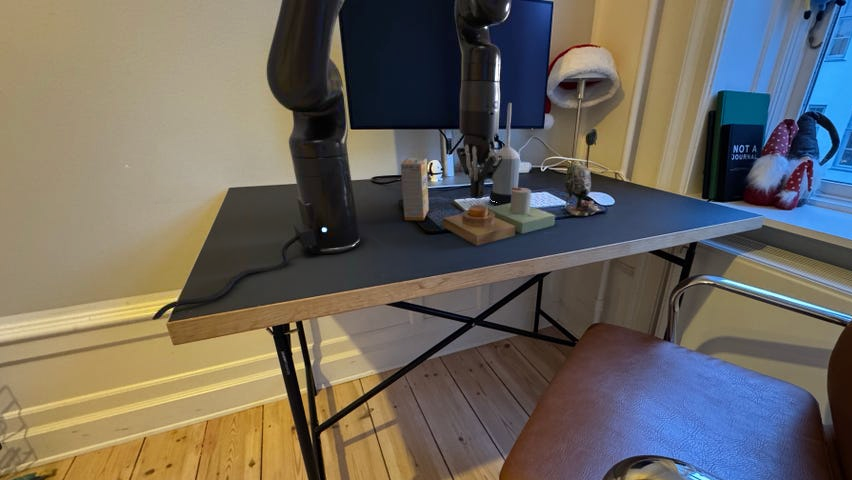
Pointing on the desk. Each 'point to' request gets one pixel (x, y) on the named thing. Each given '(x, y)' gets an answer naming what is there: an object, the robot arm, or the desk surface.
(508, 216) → the green base plate
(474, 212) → the light button
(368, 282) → the desk surface
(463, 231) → the lamp base
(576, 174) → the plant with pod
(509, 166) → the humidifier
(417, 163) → the supplement box
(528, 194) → the dimmer knob
